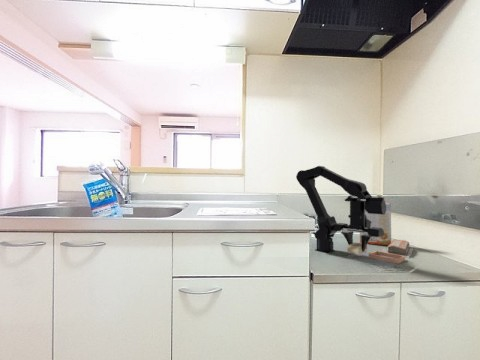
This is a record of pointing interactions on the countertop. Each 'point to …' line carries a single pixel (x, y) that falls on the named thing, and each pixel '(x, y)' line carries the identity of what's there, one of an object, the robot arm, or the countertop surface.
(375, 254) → the frame
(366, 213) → the cracker box
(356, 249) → the cream rectangular prism
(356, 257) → the mat
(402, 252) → the packaged product
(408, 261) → the countertop surface
